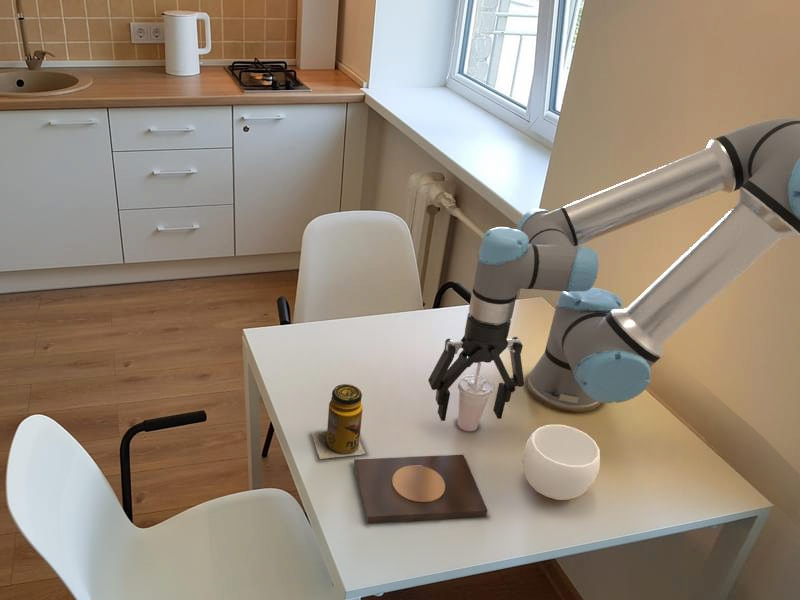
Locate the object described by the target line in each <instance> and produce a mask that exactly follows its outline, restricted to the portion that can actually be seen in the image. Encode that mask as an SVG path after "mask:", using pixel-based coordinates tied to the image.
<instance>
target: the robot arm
mask: <svg viewBox="0 0 800 600" xmlns="http://www.w3.org/2000/svg"><path fill="white" fill-rule="evenodd" d="M738 190H739V198H738V201H737V204H735V205H734V206H733V207H732V209H730V210H729V211H727V213H726V214H724V216H723V217H721V219H720V220H718V222H716V224H714V225H713V226H711V228H710V229H709V230H708V231H707V232H706V233H705V234H704V235H702V236H701V237H700V238H699V239H698V240H697V241H696V242H695V243H694V244H693V245H692V246H691V247H690V248H689V249H688V250H687V251H686V252H685V253H683V255H681V256H680V257H679V258H678V259H677V260H676V261H675V262H673V264H672V265H671V266H669V268H667V269H666V271H664V272H663V273H662V274H661V275H660V276H659V277H657V279H656V280H655V281H654V282H653V283H652V284H650V286H648V287H647V288H646V289H645V290H644V291H643V292H642V293H641V294H640V295H639V296H638V297H637V298H636V299H635V300H634V301H632V302H631V303H630V304H629V305H628V306H627V307H625V308H623V300H622V298H621V297H620V296H619V295H618V294H616V293H614V292H611V291H609V290H607V289H603V288H598V287H593V286H594V285H595V283H596V281H597V278H598V274H599V273H598V272H599V257H598V256H599V255H598V253H597V251H596V250H595V249H594V248H592V247H588V246H582V245H583V244H584V243H588V242H590V241H593V240H595V239H598V238H601V237H603V236H606V235H608V234H611V233H613V232H616V231H619V230H621V229H624V228H626V227H628V226H631V225H634V224H636V223H639V222H642V221H644V220H647V219H650V218H652V217H655V216H658V215H660V214H663V213H665V212H668V211H670V210H673V209H675V208H678V207H680V206H683V205H685V204H689V203H690V202H694V201H696V200H698V199H701V198H704V197H706V196H709V195H711V194H715V193H717V192H719V191H721V192H725V193H728V194H729V193H730V194H731V193H733V192H735V191H738ZM795 237H800V118H795V117H781V118H774V119H769V120H764V121H760V122H757V123H753V124H750V125H747V126H744V127H741V128H738V129H736V130H733V131H729V132H727V133H724V134H722V135H720V136H718V137H715V138H713V139H711V140H709V141H708V143H707V145H706V146H705V148H704V149H702V150H699V151H697V152H694V153H691V154H689V155H687V156H684V157H681V158H680V159H677V160H674V161H672V162H670V163H668V164H664V165H663V166H661V167H660V166H659V167H658V168H656V169H652V170H650V171H648V172H645V173H642V174H640V175H638V176H635V177H633V178H631V179H628V180H626V181H623V182H621V183H618V184H616V185H614V186H611V187H608V188H606V189H604V190H601V191H599V192H596V193H594V194H592V195H589V196H586V197H584V198H582V199H580V200H576V201H573V202H572V203H570V204H567V205H565V206H563V207H560V208H557V209H554V210H551V211H550V210H547V209H545V208H533V209H530V210H529V211H527V212H525V213H524V214H522V216H521V218H520V219H519V221H518V223H517V226H516V228H510V227H507V226H498V227H492V228H490V229H488V230H487V231H486V232H485V233H484V235H483V237H482V240H481V242H480V243H481V244H480V248H479V251H478V253H477V258H478V259H477V264H476V269H475V275H474V281H473V286H472V290H471V295H470V300H469V307H468V313H467V316H466V322H465V327H464V335H463V336H462V338H461V339H460V340H452V338H446V340H445V342H444V349H443V351H442V353H441V355H440V357H439V359H438V360H437V363H436V364H435V366H434V368H433V370H432V372H431V374H430V376H429V378H428V380H427V381H428V384H429V386H430V388H431V390H432V391H436V392H435V399H434V400H435V402H436V404H437V405H438V407H437V414H438V416H439V419H440V421H441V422H445V421H446V418H447V414H448V413H447V412H448V408H449V407H448V406H449V403H450V398H451V397H450V395H451V392H450V390H449V389H450V388H451V386H452V385H453V384H454V383H455V382H456V381H457V380H458V378H460V376H461V375H462V374H463V373H464V372H465V370H467V368H471V366H472V365H474V364H478V363H491V362H493V363H494V365H495V367H496V369H497V371H498V373H499V375H500V377H501V379H502V381H503V382H499V383H498V387H497V391H496V396H495V399H494V405H493V409H492V410H493V413H494V415H495V417H496V418H497V420H502V418H503V413H504V409H505V405H506V403H509V402H510V401H511V397H512V394H513V393H514V392H516V391H517V389H516V388H517V387H518V388H522V387H524V385H525V381H524V380H525V379H524V378H525V377H524V371H523V364H522V363H523V362H522V356H521V354H522V350H523V347H524V346H523V345H524V344H522V343H523V342H521V340H520V338H519V337H518V336H513V337H512V338H511V339H508V336H509V333H510V328H511V325H512V324H511V323H512V318H513V315H514V310H515V306H516V302H517V297H518V292H519V289H523V290H537V291H538V290H541V291H552V292H553V291H554V292H560V294H559V296H558V299H557V302H556V303H555V309H554V312H553V317H552V321H551V326H550V329H549V333H548V337H547V342H546V346H545V348H544V349H545V350H544V351H543V354H542V355H541V357H540V358H539V359H538V361H536V364H535V365H534V366H533V368H531V371H530V372H529V375H528V379H527V388H528V390H529V392H530V394H531V395H532V396H533V397H534V398H535V399H537V400H538V401H539V402H540V403H541V404H544V405H546V406H548V407H550V408H552V409H556V410H560V411H562V412H569V413H586V412H591V411H593V410H595V409H597V408H598V407H600V406H601V405H602V404H611V403H612V404H613V403H616V404H618V403H619V404H620V403H624V402H627V401H630V400H632V399H635V398H636V397H638V396H640V395H641V394H642V393H643V392H644V391H645V390H646V389H647V388H648V386H649V384H650V382H651V376H652V370H651V367H652V366H653V365H654V364H656V362H658V361H659V360H660V359H661V358H662V357H663V356H664V345H665V342H667V341H668V340H669V339H670V338H671V337H672V336H674V334H676V333H677V332H678V331H679V330H680V329H681V328H682V327H684V326H685V325H686V324H687V323H688V322H689V321H690V320H691V319H693V318H694V317H696V315H697V314H698V313H699V312H700V311H701V310H703V309H704V308H705V307H706V306H707V305H708V304H709V303H711V302H712V301H713V300H714V299H715V298H716V297H717V296H718V295H720V294H721V293H722V292H723V291H724V290H725V289H726V288H728V287H729V286H730V285H731V284H732V283H733V282H734V281H735V280H737V279H738V278H739V277H740V276H741V275H742V274H744V272H745V271H746V270H748V269H749V268H751V266H752V265H754V263H756V262H757V261H758V260H759V259H760V258H761V257H762V256H763V255H765V254H766V253H767V252H768V251H769V250H770V249H771V248H772V247H773V246H775V245H776V244H777V243H778V242H779V241H781V239H784V238H795ZM460 349H462V350H461V351H460V353H459V350H460ZM507 349H508V351H509V355H510V361H511V363H510V365H511V369H512V377H510V375H509V373H508V371H507V368H506V367H505V365H504V362H503V360H502V358H501V357H500V355H501V354H502V353H503V352H504V351H505V350H507ZM457 354H458V357H457V358H456V360H455V361H453V360H454V358H455V355H457ZM452 362H453V363H452Z"/></svg>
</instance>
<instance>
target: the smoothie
mask: <svg viewBox="0 0 800 600" xmlns="http://www.w3.org/2000/svg"><path fill="white" fill-rule="evenodd" d="M481 366H482V362H480V363H477V367H476V372H475V375H473V374H470V375H469V374H467V375H465V376H462V377H461V378H460V379H459V380H458V384H457V389H458V411H457V412H458V414H457V419H458V420H457V427H458V428H459V429H461V430H462V431H466V432H474V431H476V430H477V428H478V426H479V423H480V421H481V418H482V416H483V413H484V411H485V408H486V405H487V402H488V400H489V397H490V396H491V395H492V394H493V389H494V385H493V384H492V383H491V381H490V380H488V379H487V378H485V377H483V376H480V370H481Z"/></svg>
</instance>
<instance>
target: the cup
mask: <svg viewBox="0 0 800 600" xmlns="http://www.w3.org/2000/svg"><path fill="white" fill-rule="evenodd" d="M600 466H601V450H600V448H599V446H598V443H597V442H596V441H595V439H594V438H592V437H591V436H590V435H588V434H587V433H586V432H584V431H581V430H580V429H578V428H576V427H573V426H570V425H569V426H568V425H565V424H545V425H543V426H539V427H538V428H536V429H535V430H534V432H532V433H531V434H530V436H529V438H528V439H527V441H526V444H525V447H524V451H523V455H522V468H523V474H524V476H525V479H526V480H527V482H528V483H529V485H530V486H531V488H533V489H534V490H535V491H536V492H537V493H539V494H541V495H542V496H544V497H546V498H549V499H553V500H556V501H569V500H572V499H575V498H577V497H579V496H582V495H584V494H585V493H586V491H587V490H588V489H589V488H590V487H591V486H592V484H593V483H594V482H595V481H596V479H597V477H598V474H599V472H600V469H601V468H600Z"/></svg>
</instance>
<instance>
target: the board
mask: <svg viewBox="0 0 800 600" xmlns="http://www.w3.org/2000/svg"><path fill="white" fill-rule="evenodd" d="M353 469H354V472H355V473H354V474H355V477H356V480H357V485H358V489H359V494H360V498H361V502H362V506H363V510H364V514H365V519H366V522H367V523H366V524H380V523H398V522H413V521H417V522H418V521H431V520H432V521H433V520H434V521H435V520H450V519H467V518H485V517H487V514H488V507H487V506H486V504H485V501H484V499H483V497H482V494H481V492H480V490H479V487H478V485H477V483H476V480H475V478H474V476H473V473H472V471H471V468H470V467H469V464H468V461H467V460H466V457H465V455H464V454H441V455H423V456H421V455H420V456H400V457H397V456H396V457H379V458H378V457H377V458H376V457H375V458H355V459H354V460H353Z"/></svg>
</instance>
